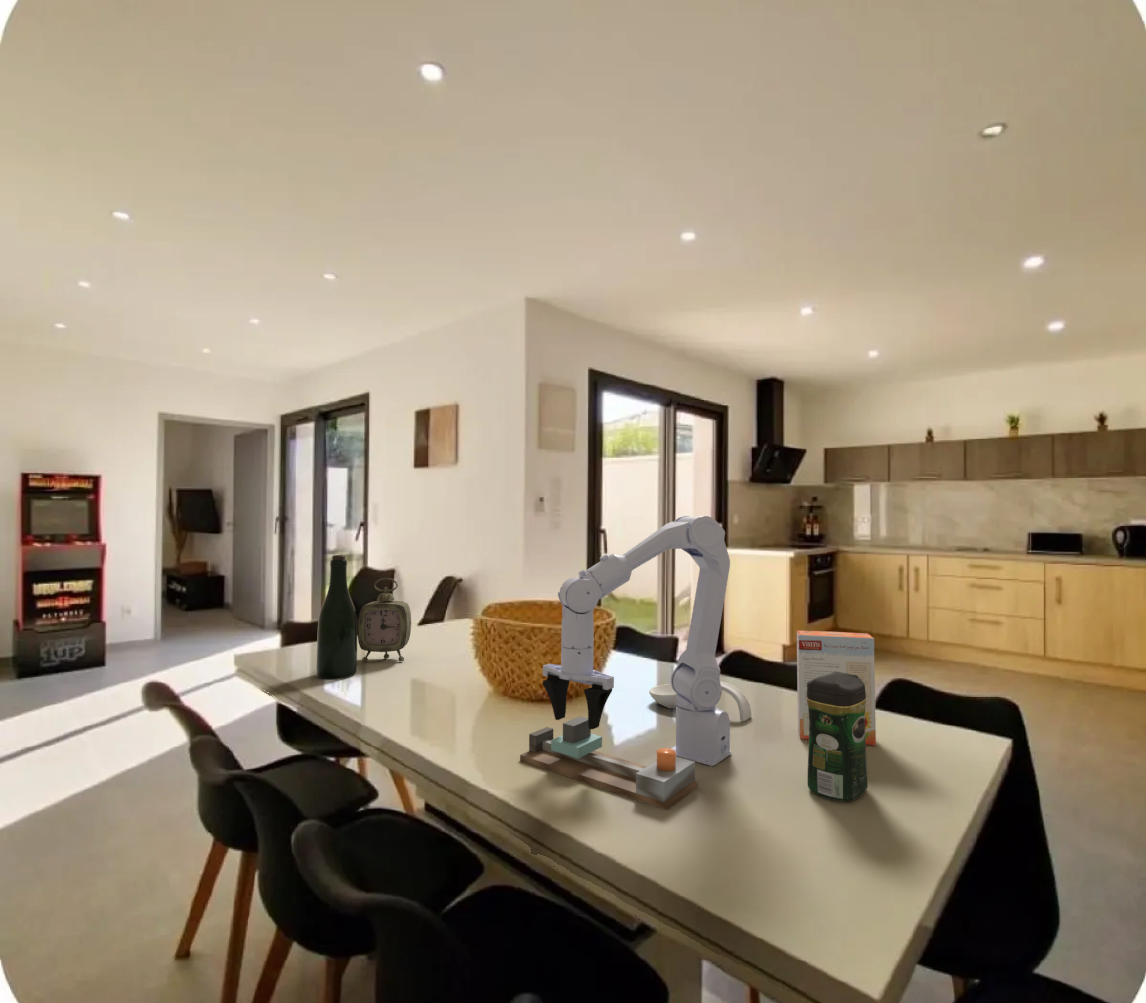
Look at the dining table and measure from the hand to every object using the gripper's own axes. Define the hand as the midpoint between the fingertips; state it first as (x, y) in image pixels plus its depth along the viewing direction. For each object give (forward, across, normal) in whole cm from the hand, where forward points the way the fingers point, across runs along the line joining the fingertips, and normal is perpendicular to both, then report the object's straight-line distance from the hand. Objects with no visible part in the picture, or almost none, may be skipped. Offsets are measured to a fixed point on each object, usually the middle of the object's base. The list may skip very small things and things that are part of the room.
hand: (576, 723), depth 109 cm
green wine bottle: (+8, -89, +7) cm, 90 cm away
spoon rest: (+8, +2, +43) cm, 44 cm away
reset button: (+3, +18, 0) cm, 18 cm away
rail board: (+7, +6, 0) cm, 9 cm away
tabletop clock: (+8, -94, +26) cm, 98 cm away
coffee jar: (+7, +39, +18) cm, 44 cm away
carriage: (+4, 0, 0) cm, 4 cm away
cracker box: (+7, +32, +43) cm, 54 cm away
